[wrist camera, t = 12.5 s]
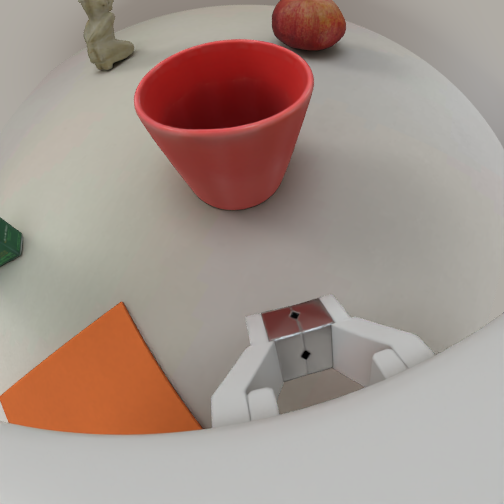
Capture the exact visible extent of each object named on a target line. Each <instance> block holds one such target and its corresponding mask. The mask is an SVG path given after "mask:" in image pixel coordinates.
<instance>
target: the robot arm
mask: <svg viewBox="0 0 504 504" xmlns="http://www.w3.org/2000/svg"><path fill="white" fill-rule="evenodd" d="M245 319H246V324H247V329H248V334H249V339H250V344H251V346H250V347H246V349H245V350H244V352H243V353H242V354H241V356H240V357H239V359H238V360H237V362H236V363H235V365H234V366H233V367H232V369H231V370H230V372H229V373H228V374H227V376H226V377H225V379H224V380H223V381H222V383H221V384H220V386H219V387H218V388H217V390H216V391H215V392H214V394H213V395H212V397H211V414H212V428H209V429H201V430H193V431H183V432H172V433H157V434H131V435H112V434H86V433H72V432H62V431H53V430H45V429H39V428H32V427H26V426H21V425H16V424H11V423H7V422H2V421H0V504H504V312H503V313H502V314H501V315H499V316H498V317H497V318H495V319H494V320H492V321H491V322H489V323H488V324H486V325H485V326H483V327H482V328H480V329H479V330H477V331H476V332H474V333H473V334H471V335H469V336H468V337H466V338H465V339H463V340H461V341H460V342H458V343H456V344H454V345H453V346H451V347H449V348H447V349H446V350H444V351H442V352H440V353H438V354H437V355H435V353H434V352H433V351H432V350H431V349H430V348H429V347H428V346H427V345H426V344H425V343H424V342H423V341H422V340H421V339H420V338H419V336H418V335H416V334H413V333H409V332H406V331H402V330H399V329H396V328H392V327H389V326H385V325H382V324H379V323H375V322H372V321H369V320H365V319H362V318H359V317H353V318H351V316H350V315H349V314H348V313H347V311H346V310H345V309H344V307H343V306H342V305H341V304H340V302H339V301H338V300H337V299H336V297H335V296H334V295H333V294H328V295H325V296H322V297H319V298H317V299H313V300H310V301H307V302H303V303H300V304H296V305H293V306H288V307H283V308H279V309H275V310H271V311H266V312H262V313H261V314H260V313H257V314H253V315H249V316H246V317H245ZM330 368H333V369H335V370H336V371H338V372H340V373H342V374H343V375H345V376H347V377H348V378H350V379H352V380H354V381H355V382H357V383H359V384H360V385H362V386H364V387H365V388H363V389H360V390H357V391H355V392H352V393H349V394H346V395H344V396H341V397H338V398H335V399H332V400H329V401H326V402H323V403H319V404H316V405H313V406H310V407H306V408H303V409H299V410H296V411H292V412H288V413H284V414H280V413H279V409H278V405H277V402H276V401H277V399H278V396H279V394H280V391H281V389H282V386H283V382H286V381H289V380H292V379H296V378H299V377H302V376H305V375H309V374H312V373H316V372H320V371H323V370H326V369H330Z"/></svg>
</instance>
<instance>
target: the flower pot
mask: <svg viewBox="0 0 504 504" xmlns="http://www.w3.org/2000/svg"><path fill="white" fill-rule="evenodd" d="M313 87H314V78H313V74H312V71H311V69H310V67H309V65H308V64H307V63H306V61H305V60H304V59H302V58H301V57H300V56H299V55H297V54H296V53H294V52H292V51H291V50H289V49H286V48H284V47H282V46H279V45H276V44H272V43H269V42H264V41H257V40H247V39H233V40H223V41H215V42H210V43H205V44H201V45H197V46H194V47H191V48H188V49H185V50H183V51H181V52H178V53H176V54H174V55H172V56H170V57H168V58H167V59H165V60H163V61H162V62H160V63H159V64H157V65H156V66H155V67H154V68H152V69H151V70H150V71H149V72H148V73H147V74H146V75H145V76H144V78H143V79H142V80H141V82H140V83H139V85H138V87H137V89H136V92H135V95H134V106H135V110H136V113H137V115H138V117H139V118H140V120H141V122H142V123H143V125H144V126H145V128H146V129H147V131H148V132H149V133H150V135H151V136H152V138H153V139H154V140H155V142H156V143H157V145H158V146H159V147H160V149H161V150H162V151H163V153H164V154H165V155H166V157H167V158H168V159H169V161H170V162H171V163H172V165H173V166H174V167H175V168H176V170H177V171H178V172H179V174H180V175H181V176H182V177H183V179H184V180H185V181H186V182H187V184H188V185H189V186H190V188H191V189H192V190H193V192H194V193H195V194H196V195H197V196H198V197H199V198H200V199H201V200H202V201H204V202H205V203H207V204H209V205H211V206H213V207H216V208H220V209H225V210H241V209H246V208H250V207H253V206H256V205H258V204H260V203H262V202H264V201H265V200H267V199H268V198H269V197H270V196H272V195H273V194H274V193H275V191H276V190H277V189H278V187H279V186H280V184H281V181H282V179H283V177H284V174H285V172H286V169H287V167H288V164H289V162H290V159H291V156H292V153H293V150H294V147H295V144H296V141H297V138H298V135H299V132H300V129H301V126H302V123H303V120H304V117H305V114H306V111H307V108H308V105H309V102H310V99H311V95H312V91H313Z"/></svg>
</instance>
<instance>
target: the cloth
mask: <svg viewBox="0 0 504 504" xmlns="http://www.w3.org/2000/svg"><path fill="white" fill-rule="evenodd" d="M0 401H1V404H2V407H3V409H4V412H5V414H6V417H7V419H8V422H9V423H11V424H16V425H21V426H26V427H32V428H39V429H45V430H53V431H62V432H72V433H86V434H112V435H131V434H157V433H172V432H183V431H193V430H201V429H203V428H202V427H201V426H200V424H199V423H198V422H197V420H196V419H195V418H194V416H193V415H192V414H191V412H190V411H189V410H188V408H187V407H186V405H185V404H184V403H183V401H182V400H181V398H180V397H179V395H178V394H177V392H176V391H175V390H174V388H173V387H172V385H171V384H170V382H169V381H168V379H167V377H166V376H165V374H164V373H163V371H162V370H161V368H160V367H159V365H158V363H157V362H156V360H155V358H154V357H153V355H152V354H151V352H150V350H149V348H148V347H147V345H146V343H145V342H144V340H143V338H142V336H141V335H140V333H139V331H138V329H137V327H136V326H135V324H134V322H133V320H132V318H131V316H130V315H129V313H128V311H127V309H126V307H125V305H124V303H123V302H120V303H119V304H117V305H116V306H115V307H113V308H112V309H111V310H109V311H108V312H107V313H105V314H104V315H102V316H101V317H100V318H98V319H97V320H96V321H94V322H93V323H92V324H90V325H89V326H88V327H86V328H85V329H84V330H82V331H81V332H80V333H79V334H77V335H76V336H75V337H73V338H72V339H71V340H69V341H68V342H67V343H65V344H64V345H63V346H62V347H60V348H59V349H58V350H56V351H55V352H54V353H53V354H51V355H50V356H49V357H48V358H46V359H45V360H44V361H42V362H41V363H40V364H39V365H37V366H36V367H35V368H34V369H32V370H31V371H30V372H29V373H28V374H26V375H25V376H24V377H23V378H21V379H20V380H19V381H18V382H17V383H15V384H14V385H13V386H12V387H10V388H9V389H8V390H7V391H6V392H4V393H3V394H2V395H1V396H0Z"/></svg>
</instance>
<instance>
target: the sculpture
mask: <svg viewBox="0 0 504 504" xmlns="http://www.w3.org/2000/svg"><path fill="white" fill-rule="evenodd" d="M78 2H79V3H81V5H82V7H83V9H84V10H85V12H86V14H87V15H88V18H89V20H88V22H87V24H86V27H85V30H84V39H85V41H86V43H87V48H88V56H89V58H90V62H91V63H95V65H96V67H97V69H98V70H103V69H104V70H109V69H111V68H112V67H113V63H114V62H117V61H120V60H123V59H125V58H127V57H128V56H129V55H131V54H132V53H133V52H134V45H133V44H132V43H131V42H129V41H123V40H117V39H115V36H114V28H113V23H114V20H115V16H114V14H113V13H111V12H109V11H111V10H112V3H113V2H114V0H78Z"/></svg>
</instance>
